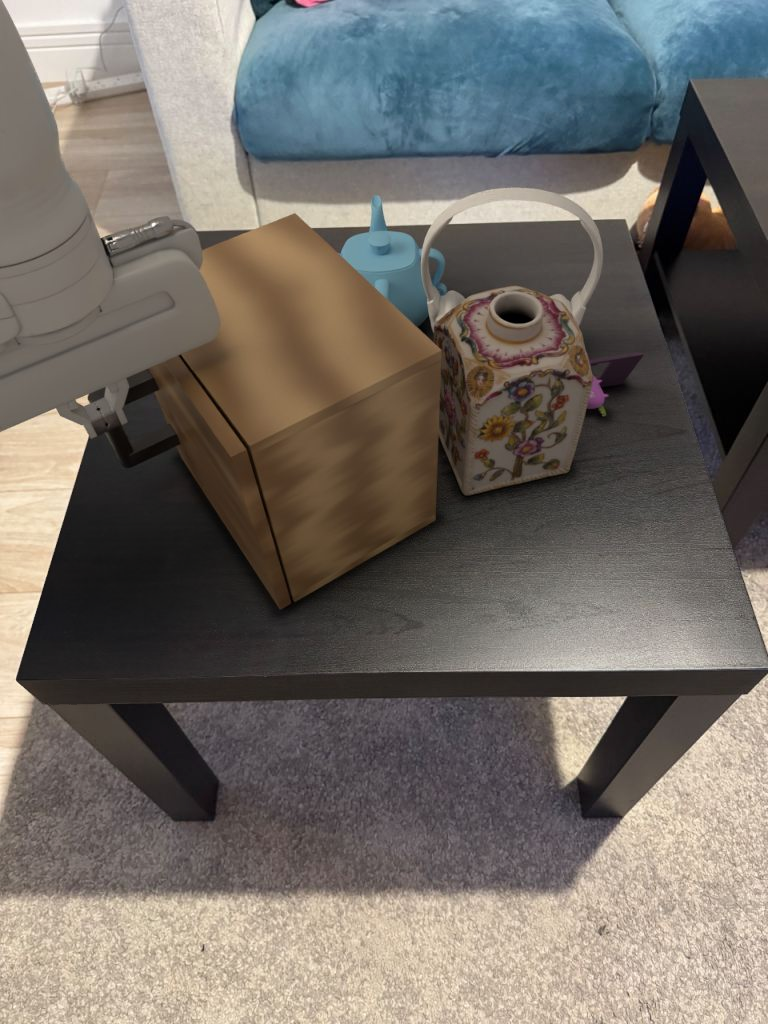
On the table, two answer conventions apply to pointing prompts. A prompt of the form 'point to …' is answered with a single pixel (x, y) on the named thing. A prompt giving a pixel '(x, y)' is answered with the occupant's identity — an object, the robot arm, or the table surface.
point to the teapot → (393, 265)
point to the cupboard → (321, 399)
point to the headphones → (452, 298)
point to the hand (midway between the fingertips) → (106, 425)
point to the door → (204, 461)
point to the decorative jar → (510, 388)
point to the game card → (611, 376)
